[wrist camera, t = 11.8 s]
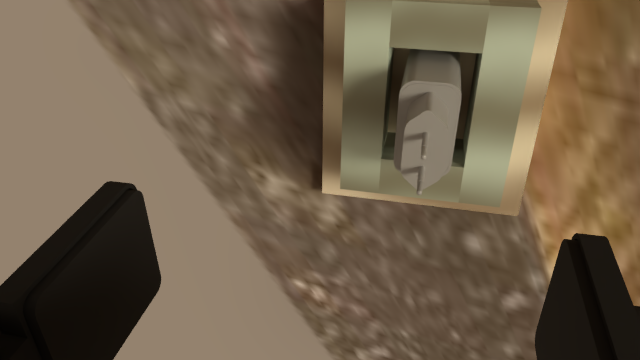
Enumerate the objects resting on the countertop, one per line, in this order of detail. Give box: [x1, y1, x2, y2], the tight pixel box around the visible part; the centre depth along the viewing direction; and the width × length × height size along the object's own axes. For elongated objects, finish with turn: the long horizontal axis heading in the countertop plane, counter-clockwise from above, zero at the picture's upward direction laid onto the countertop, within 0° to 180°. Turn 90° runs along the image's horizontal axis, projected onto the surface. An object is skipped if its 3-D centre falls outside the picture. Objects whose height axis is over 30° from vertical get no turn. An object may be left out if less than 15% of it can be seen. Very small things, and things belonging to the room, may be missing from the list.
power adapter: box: [393, 49, 461, 195], centre depth 29 cm, size 3×5×12 cm, turn 179°
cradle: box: [322, 0, 568, 216], centre depth 33 cm, size 18×14×5 cm
